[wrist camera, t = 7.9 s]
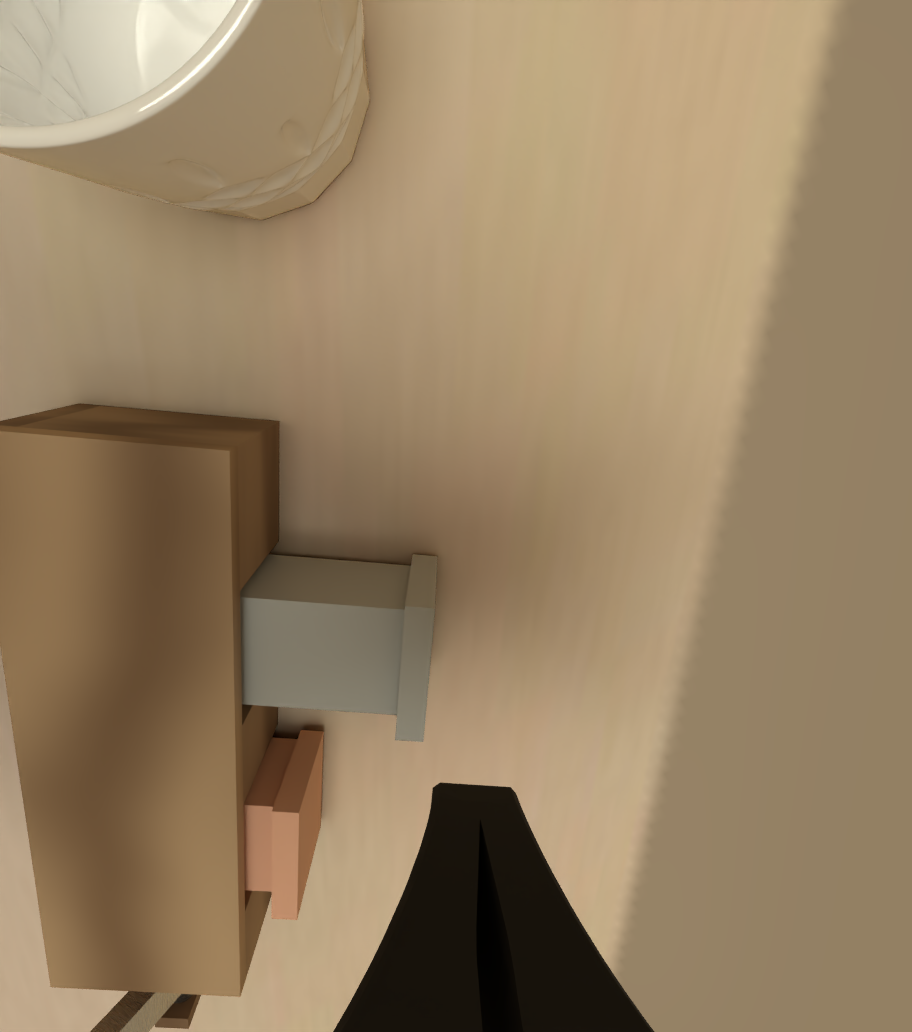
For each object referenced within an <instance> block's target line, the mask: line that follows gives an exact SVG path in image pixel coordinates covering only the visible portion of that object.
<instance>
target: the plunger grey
mask: <svg viewBox="0 0 912 1032" xmlns="http://www.w3.org/2000/svg"><path fill="white" fill-rule="evenodd" d="M436 578H437V556H428V555H416V554H413V556H412V562H411V566H409V565H397V564H384V563H371V562H359V561H346V560H334V559H321V558H309V557H296V556H283V555H271V554H268V555H267V557H266V558H265V559H264V561H263V562H262V563H261V565H260V566H259V567H258V568H257V570H256V571H255V572H254V574H253V575H252V576H251V578H250V579H249V580H248V582H247V583H246V584H245V585H244V587H243V588H242V589H241V591H240V617H241V682H242V704H245V705H259V706H274V707H288V708H302V709H317V710H331V711H345V712H360V713H374V714H388V715H397V723H396V736H395V740H402V741H417V742H423V740H424V729H425V717H426V706H427V695H428V684H429V673H430V662H431V650H432V639H433V628H434V617H435V603H436Z"/></svg>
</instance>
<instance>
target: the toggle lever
mask: <svg viewBox="0 0 912 1032" xmlns="http://www.w3.org/2000/svg"><path fill="white" fill-rule="evenodd" d="M192 995H193V994H177V993H157V992H137V991H129V992H128V993H127V994H126V995H125V996H124V997H123V998H122V999H121V1000H120V1001H119V1002H118V1003H117V1004H116V1005H115V1006H114V1007H113V1008H112V1010H111V1011H110V1012H109V1013H108V1014H107V1015H106V1016H105V1017H104V1018H103V1019H102V1020H101V1021H100V1022H99V1023H98V1024H97V1025H96V1026H95V1027H94V1028H93V1029H92V1030H91V1032H149V1031H150V1029H151V1028H152V1027H153V1026H154V1025H155V1024H156V1023H157V1021H158V1020H159V1019H160V1018H161V1017H162V1016H163V1014H164V1013H165V1012H166V1011H167V1010H168V1009H169V1008H170V1006H171V1005H172V1004H173V1003H175V1004H178V1003H182V1002H185V1001H186V1000H188V999H189V998H190V997H191V996H192Z"/></svg>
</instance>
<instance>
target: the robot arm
mask: <svg viewBox="0 0 912 1032" xmlns="http://www.w3.org/2000/svg"><path fill="white" fill-rule="evenodd" d="M333 1032H654V1031H653V1029H652V1028H651V1027H650V1026H649V1024H648V1023H647V1022H646V1020H645V1019H644V1017H643V1016H642V1014H641V1013H640V1012H639V1010H638V1009H637V1008H636V1006H635V1005H634V1003H633V1002H632V1001H631V999H630V998H629V996H628V995H627V993H626V992H625V991H624V989H623V988H622V986H621V985H620V983H619V982H618V980H617V979H616V977H615V976H614V974H613V973H612V971H611V970H610V968H609V967H608V965H607V964H606V962H605V961H604V959H603V958H602V956H601V955H600V953H599V951H598V950H597V948H596V946H595V945H594V943H593V942H592V940H591V938H590V937H589V935H588V934H587V932H586V930H585V929H584V927H583V926H582V924H581V922H580V920H579V919H578V917H577V915H576V914H575V912H574V910H573V909H572V907H571V905H570V903H569V902H568V900H567V898H566V896H565V894H564V892H563V891H562V889H561V887H560V885H559V883H558V882H557V880H556V878H555V876H554V874H553V873H552V871H551V869H550V867H549V865H548V863H547V861H546V859H545V857H544V855H543V853H542V851H541V849H540V847H539V845H538V843H537V841H536V839H535V837H534V835H533V833H532V830H531V828H530V826H529V824H528V822H527V819H526V817H525V815H524V813H523V810H522V808H521V805H520V803H519V800H518V798H517V795H516V793H515V792H514V791H513V790H512V788H511V787H498V786H483V785H468V784H452V783H439V784H438V785H436V786H435V787H433V792H432V803H431V809H430V814H429V819H428V823H427V827H426V830H425V833H424V837H423V840H422V843H421V847H420V850H419V852H418V855H417V858H416V861H415V863H414V866H413V869H412V871H411V874H410V877H409V880H408V882H407V885H406V887H405V890H404V892H403V895H402V897H401V899H400V902H399V904H398V906H397V908H396V911H395V913H394V915H393V917H392V920H391V922H390V924H389V926H388V929H387V931H386V933H385V935H384V938H383V940H382V942H381V944H380V946H379V948H378V950H377V952H376V954H375V956H374V958H373V960H372V962H371V964H370V966H369V968H368V970H367V972H366V974H365V976H364V978H363V979H362V981H361V983H360V985H359V987H358V989H357V991H356V993H355V994H354V996H353V998H352V1000H351V1002H350V1004H349V1005H348V1007H347V1009H346V1011H345V1012H344V1014H343V1016H342V1018H341V1019H340V1021H339V1023H338V1024H337V1026H336V1028H335V1030H334V1031H333Z"/></svg>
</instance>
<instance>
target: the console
mask: <svg viewBox="0 0 912 1032" xmlns="http://www.w3.org/2000/svg"><path fill="white" fill-rule="evenodd" d="M278 541H279V421H270V420H259V419H247V418H236V417H225V416H213V415H202V414H191V413H179V412H168V411H157V410H145V409H134V408H123V407H111V406H100V405H89V404H75V405H71V406H66V407H62V408H57V409H53V410H48V411H44V412H39V413H35V414H30V415H26V416H21V417H17V418H12V419H8V420H3V421H0V647H1V654H2V661H3V667H4V674H5V681H6V688H7V695H8V701H9V708H10V715H11V722H12V728H13V735H14V742H15V749H16V755H17V762H18V769H19V776H20V783H21V789H22V796H23V803H24V810H25V816H26V823H27V830H28V837H29V843H30V850H31V857H32V864H33V870H34V877H35V884H36V891H37V898H38V904H39V911H40V918H41V925H42V931H43V938H44V945H45V952H46V958H47V965H48V972H49V979H50V986H51V987H58V988H78V989H98V990H118V991H137V992H157V993H177V994H193V995H192V996H191V997H190V998H189V999H188V1000H186V1001H185V1002H182V1003H178V1004H175V1003H173V1004H172V1005H171V1006H170V1008H169V1009H168V1010H167V1011H166V1012H165V1013H164V1014H163V1016H162V1017H161V1018H160V1019H159V1020H158V1021H157V1023H156V1024H155V1027H164V1028H185V1029H189V1026H190V1023H191V1021H192V1018H193V1015H194V1013H195V1010H196V1007H197V1004H198V1002H199V999H200V996H201V995H217V996H237V997H240V996H241V993H242V989H243V986H244V983H245V980H246V976H247V973H248V970H249V967H250V963H251V960H252V957H253V954H254V950H255V947H256V944H257V940H258V937H259V934H260V931H261V927H262V924H263V921H264V918H265V914H266V911H267V908H268V905H269V901H270V898H271V895H272V892H269V891H251V890H245V876H244V811H243V805H244V803H245V800H246V798H247V796H248V793H249V791H250V789H251V786H252V784H253V781H254V779H255V777H256V774H257V772H258V770H259V767H260V765H261V762H262V760H263V758H264V755H265V753H266V751H267V748H268V746H269V743H270V741H271V739H272V736H273V734H274V732H275V729H276V727H277V724H278V707H274V706H259V705H245V704H242V682H241V617H240V591H241V589H242V588H243V587H244V585H245V584H246V583H247V582H248V580H249V579H250V578H251V576H252V575H253V574H254V572H255V571H256V570H257V568H258V567H259V566H260V565H261V563H262V562H263V561H264V559H265V558H266V557H267V555H268V554H269V553H270V552H271V550H272V549H273V548H274V546H275V545H276V544H277V542H278Z"/></svg>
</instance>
